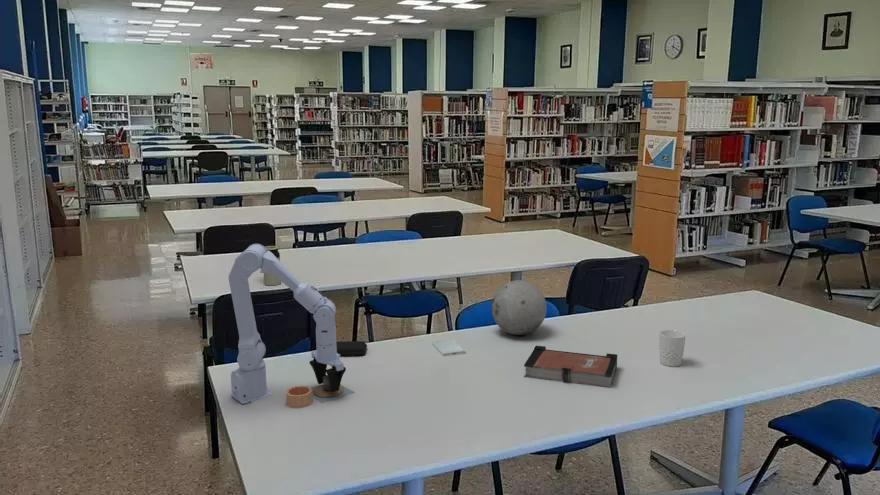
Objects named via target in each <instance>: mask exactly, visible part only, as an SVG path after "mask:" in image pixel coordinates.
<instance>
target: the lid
mask: <svg viewBox="0 0 880 495" xmlns="http://www.w3.org/2000/svg"><path fill="white" fill-rule="evenodd" d="M341 385H342V384H341ZM341 385H340V387H339V391H335V392H332V391H331V387H330V381H329V377H328V375H327V374H326V375H325V376H323V383H322V384H318V385H316V386H314V387H315V388H314V387H313V388H314V389H313V394H314V395H315V396H317V397H321V398H331V397H336V396H339V395H341V394H342V393H343V392H344V387H345V386H344V385H343V386H344V387H343V386H341Z"/></svg>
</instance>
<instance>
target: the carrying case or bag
mask: <svg viewBox="0 0 880 495" xmlns="http://www.w3.org/2000/svg"><path fill="white" fill-rule="evenodd" d="M336 345H337V353H338V354H340V357H362V356H363V357H364V355H365V354H366V353H367V348H368V345H367V343H366V342H365V341H362V340H361V341H360V340H356V341H353V340H352V341H348V340H347V341H346V340H345V341H342V340H341V341H336Z"/></svg>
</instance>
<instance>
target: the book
mask: <svg viewBox="0 0 880 495" xmlns="http://www.w3.org/2000/svg"><path fill="white" fill-rule="evenodd" d="M523 366H524V367H525V373H524V375H523V377H524V378H529V379H539V380H545V381H553V382H561V383H565V384H569V383H570V384H577V385H585V386H594V387H602V388H608V389H611V388H612V386H613V382H614V378H615V376H616V372H617V369H618V354H615V353H608V352H607V353H606V355H600V354H599V355H598V354H589V353H579V352H572V351H571V352H570V351H562V350H554V349H547V348H546V346H543V345H534V348H533V349H532V352H531V354H530V355H529V357H528V358H527V359H526V361H525V363H524V364H523Z"/></svg>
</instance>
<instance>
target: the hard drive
mask: <svg viewBox="0 0 880 495" xmlns="http://www.w3.org/2000/svg"><path fill="white" fill-rule="evenodd" d="M431 345H432V346H433V347H434V348H435V350H436V351H437V352H438V353H439V354H440V355H441V356H442V357H449V356H456V355H465V354H467V352H466V350H465V349H463V347H462V346H461V345H460V344H458V342H457V341H456V340H455V339H445V340H440V341H439V340H438V341H433V342H432V343H431Z"/></svg>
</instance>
